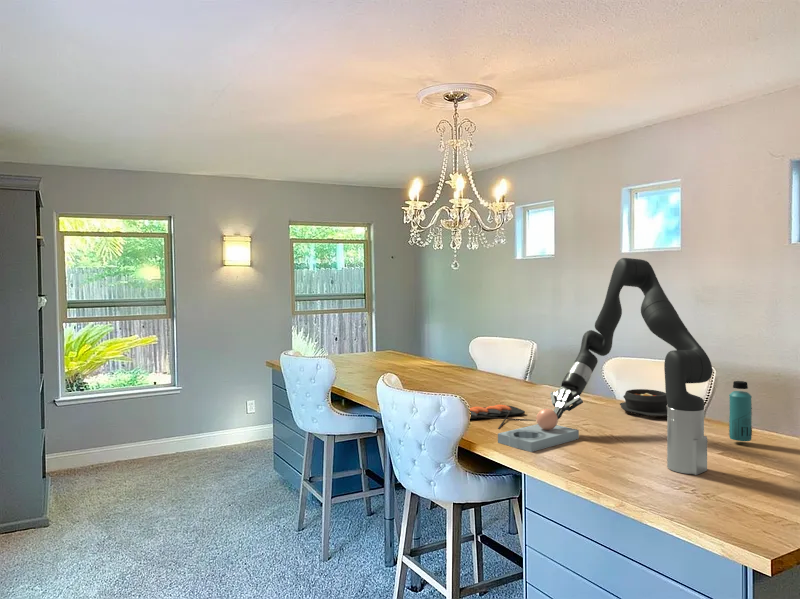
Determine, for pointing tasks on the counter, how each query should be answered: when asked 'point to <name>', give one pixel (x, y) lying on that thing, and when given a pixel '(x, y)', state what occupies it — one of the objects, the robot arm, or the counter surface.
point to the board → (537, 437)
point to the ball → (547, 419)
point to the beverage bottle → (740, 413)
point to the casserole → (645, 402)
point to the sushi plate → (496, 412)
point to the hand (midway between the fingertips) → (554, 417)
